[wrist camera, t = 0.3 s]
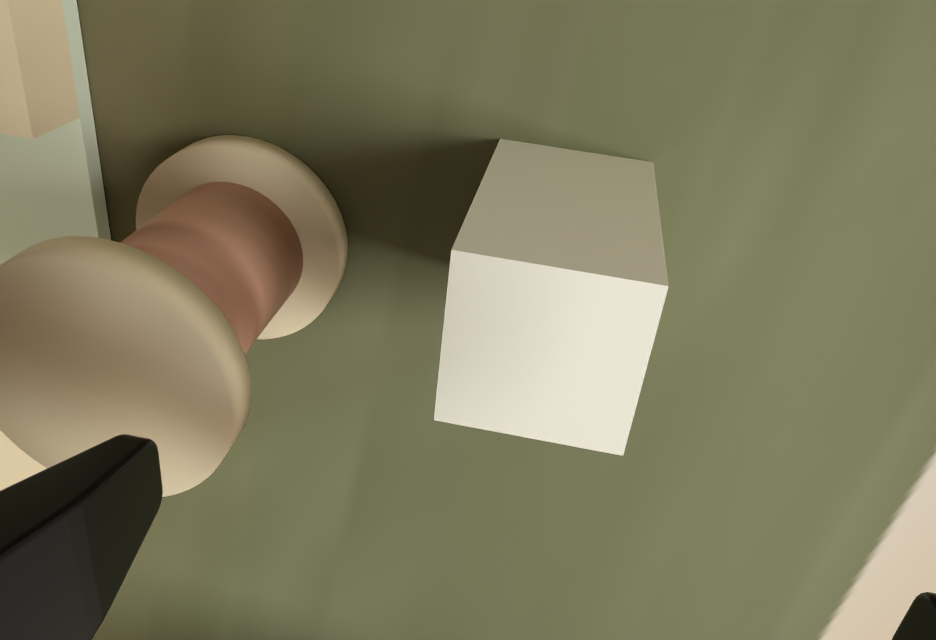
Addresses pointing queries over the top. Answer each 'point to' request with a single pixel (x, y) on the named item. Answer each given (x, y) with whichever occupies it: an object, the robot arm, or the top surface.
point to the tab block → (553, 297)
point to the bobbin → (167, 309)
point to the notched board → (44, 148)
